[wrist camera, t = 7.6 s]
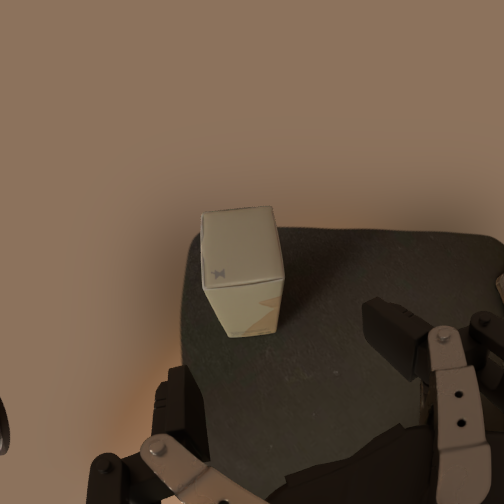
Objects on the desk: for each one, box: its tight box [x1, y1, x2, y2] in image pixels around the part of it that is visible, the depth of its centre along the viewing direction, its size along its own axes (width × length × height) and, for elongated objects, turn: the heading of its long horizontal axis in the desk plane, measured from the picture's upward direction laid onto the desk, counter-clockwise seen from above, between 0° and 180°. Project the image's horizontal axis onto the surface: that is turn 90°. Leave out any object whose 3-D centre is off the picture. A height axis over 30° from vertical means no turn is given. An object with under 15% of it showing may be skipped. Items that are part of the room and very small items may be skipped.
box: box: [201, 206, 285, 338], centre depth 19 cm, size 5×4×11 cm
